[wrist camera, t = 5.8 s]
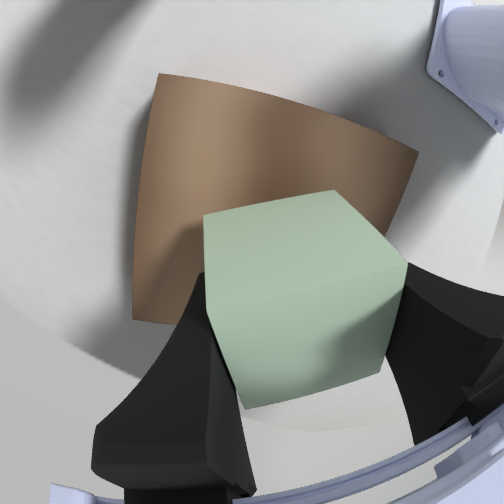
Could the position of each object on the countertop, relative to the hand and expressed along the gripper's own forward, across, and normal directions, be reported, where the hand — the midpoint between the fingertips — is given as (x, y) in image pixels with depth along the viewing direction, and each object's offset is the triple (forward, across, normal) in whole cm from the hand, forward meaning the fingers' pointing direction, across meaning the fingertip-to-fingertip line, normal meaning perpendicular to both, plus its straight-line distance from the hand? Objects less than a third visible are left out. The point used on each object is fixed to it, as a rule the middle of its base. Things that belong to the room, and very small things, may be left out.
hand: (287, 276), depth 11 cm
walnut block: (+6, 0, 0) cm, 6 cm away
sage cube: (+1, 0, 0) cm, 1 cm away
